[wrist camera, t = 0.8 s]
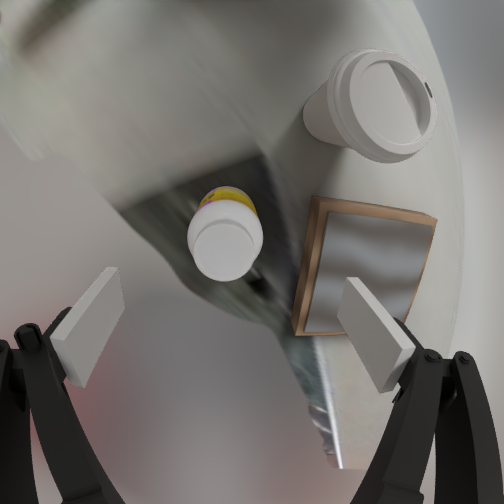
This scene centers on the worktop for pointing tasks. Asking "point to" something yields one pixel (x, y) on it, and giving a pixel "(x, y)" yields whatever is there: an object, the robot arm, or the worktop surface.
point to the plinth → (358, 260)
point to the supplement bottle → (225, 234)
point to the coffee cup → (373, 106)
